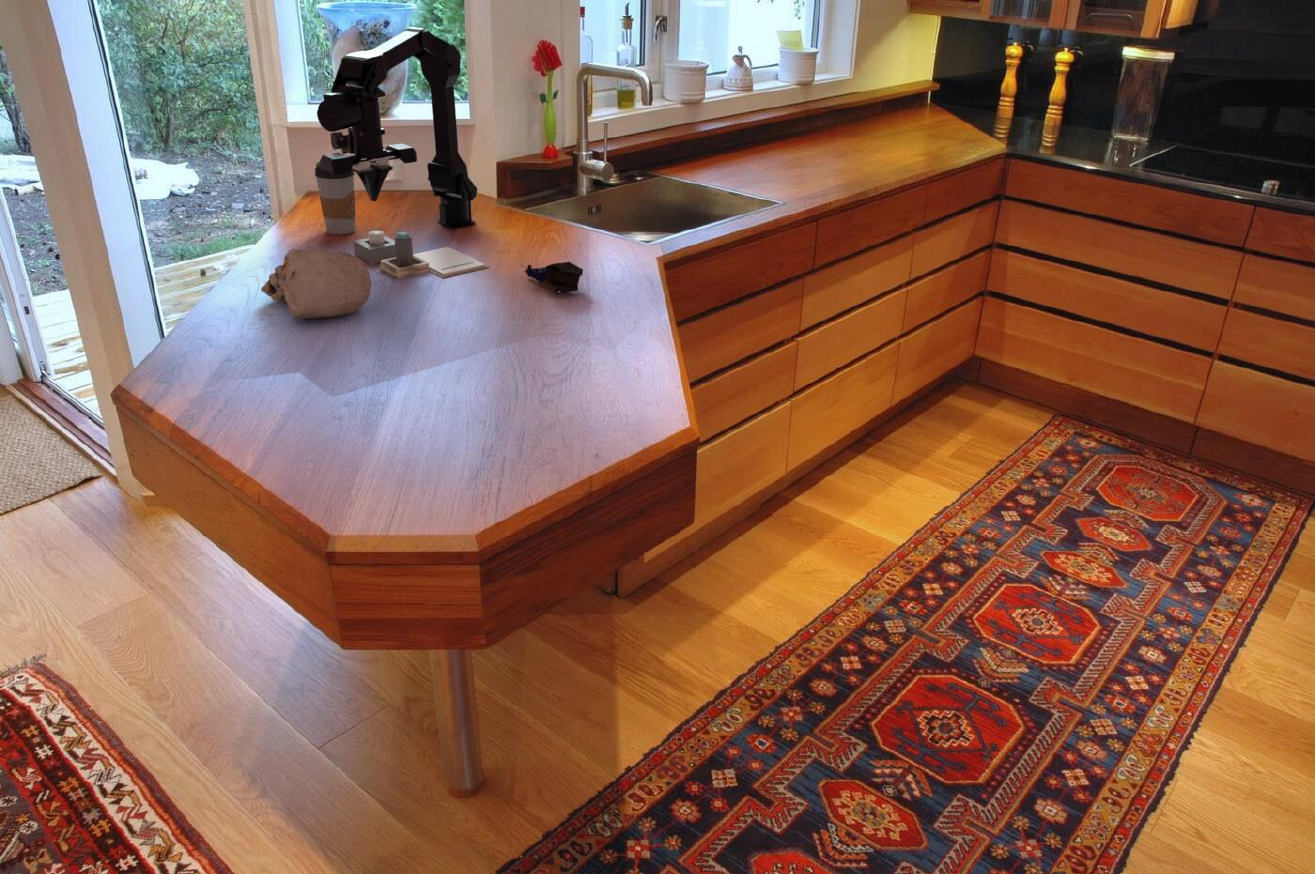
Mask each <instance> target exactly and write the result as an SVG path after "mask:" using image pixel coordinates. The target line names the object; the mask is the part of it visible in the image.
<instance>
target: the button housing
mask: <svg viewBox="0 0 1315 874" xmlns="http://www.w3.org/2000/svg"><path fill="white" fill-rule="evenodd" d="M384 238H385V244H383V245H378V246H371V245H369V237H367V238H362V239H361V238H360V239H357V240H353V250H354V256H356V257H357V258H359V259H361V260H363V261H366V262H367V263H370V264H371V263H373V264H377V263H381V260H385V259H390V258H395V257H396V250H395V239H392V238H390V237H389V236H386V235H384Z"/></svg>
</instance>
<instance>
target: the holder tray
mask: <svg viewBox="0 0 1315 874" xmlns="http://www.w3.org/2000/svg"><path fill="white" fill-rule="evenodd" d="M413 259H414V265H411V266H407V267H402V268H399V267H397V262H396V257H395V258H390V259H385V260H381V262H380V265H381V266H380V268H381V270H382V271H384V272H386V273H388V274H391V275H392V276H394V277H396V278H398V279H403V278H407V277H413V276H417V275H421V274H424V273H430V272H429V270H430V268H429V263H428V262H426V261H424V260H422V259H420V258H418V257H416V256H414V255H413Z"/></svg>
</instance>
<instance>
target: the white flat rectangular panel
mask: <svg viewBox="0 0 1315 874" xmlns="http://www.w3.org/2000/svg"><path fill="white" fill-rule="evenodd" d="M413 255H414V256H416V257H418V258H420V259H422V260H424V261H426V262H428V263H429V268H430V270H429V272H428V273H431V274H433V275H436V276H437V277H439V278H441V279H447V278H451V277H455V276H459V275H463V274H468V273H472V272H476V271H479V270H483V269H488V268H490V265H488V264H485V263H483V262H481V261H480V260H477V259H475V258H472V257H471V256H469V255H466V254H464V253H462V252H459V251H458V250H455V249H453V248H451V247H449V246H446V247H440V248H437V249H431V250H427V251H423V252H418V253H413Z"/></svg>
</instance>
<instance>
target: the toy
mask: <svg viewBox="0 0 1315 874" xmlns="http://www.w3.org/2000/svg"><path fill="white" fill-rule="evenodd" d="M519 265H520V266H521V267H522V268H523V269H525V270H524V273H526V275H527V277H530V278H533V279H534V280H536V281H538V282H539V281H542V282H545V283H547V284H548V285H549V286H551V287H552V288H553V289H555V290H554V292H557V293H558V291H561V293H568V292H570V293H571V292H578V289H579V286H578V285H579V282H580V278H581V277H582V276H583V273H584V269H583V268H581V267H579V266H578V265H576V264H574V263H573V262H571V261H565V262H558V263H553V262H552V263H551V264H549V265H546V266H544V267H538V268H537V267H534V268H533V267H532V264H527V267H526V266H524V265H523V262H520V263H519Z"/></svg>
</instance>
